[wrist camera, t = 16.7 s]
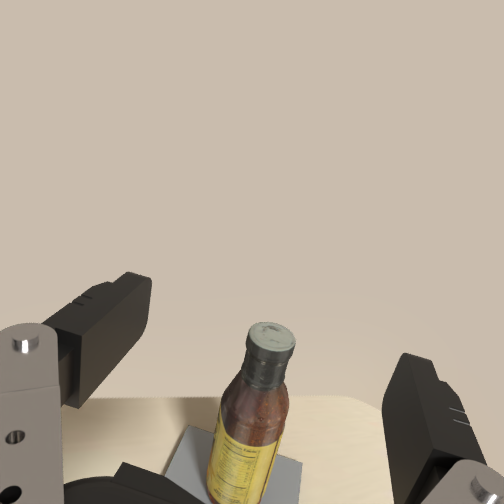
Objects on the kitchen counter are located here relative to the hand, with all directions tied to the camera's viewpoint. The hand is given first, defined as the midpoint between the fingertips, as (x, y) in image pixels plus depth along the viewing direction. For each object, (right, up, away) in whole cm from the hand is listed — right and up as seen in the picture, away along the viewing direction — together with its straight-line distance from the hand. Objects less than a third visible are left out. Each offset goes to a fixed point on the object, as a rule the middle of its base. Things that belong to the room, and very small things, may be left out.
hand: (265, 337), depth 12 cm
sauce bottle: (-2, -22, +28) cm, 36 cm away
